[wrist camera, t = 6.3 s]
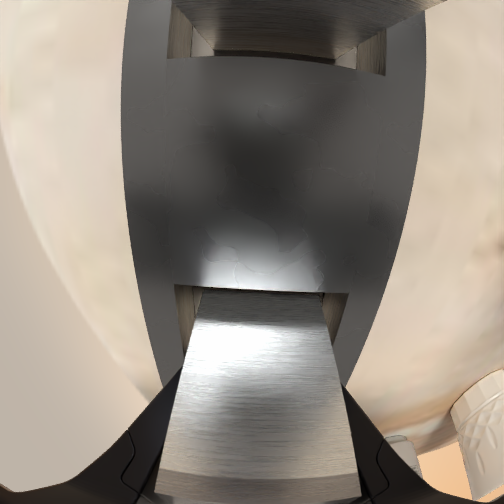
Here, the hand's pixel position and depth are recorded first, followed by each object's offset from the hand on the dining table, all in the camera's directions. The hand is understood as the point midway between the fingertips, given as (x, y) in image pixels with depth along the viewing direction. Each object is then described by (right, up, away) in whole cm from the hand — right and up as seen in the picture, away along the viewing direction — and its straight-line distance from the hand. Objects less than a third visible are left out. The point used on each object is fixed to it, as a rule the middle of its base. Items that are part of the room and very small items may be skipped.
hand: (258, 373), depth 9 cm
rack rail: (0, +7, 0) cm, 7 cm away
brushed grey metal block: (0, +1, +2) cm, 2 cm away
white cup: (+20, -9, +8) cm, 24 cm away
